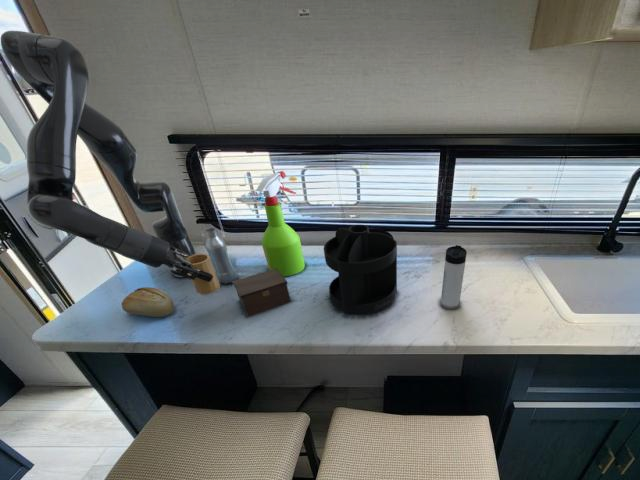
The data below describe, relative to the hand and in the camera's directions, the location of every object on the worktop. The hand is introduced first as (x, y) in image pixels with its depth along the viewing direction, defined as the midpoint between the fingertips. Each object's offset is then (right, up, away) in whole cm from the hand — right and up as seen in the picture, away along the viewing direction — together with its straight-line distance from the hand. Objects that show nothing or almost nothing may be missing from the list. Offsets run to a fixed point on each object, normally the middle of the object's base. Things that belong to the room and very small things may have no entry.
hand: (209, 273), depth 93 cm
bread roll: (-23, -12, +8) cm, 27 cm away
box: (+11, -8, +13) cm, 19 cm away
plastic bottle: (-7, -1, +23) cm, 24 cm away
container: (+44, -7, +16) cm, 47 cm away
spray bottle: (+13, +6, +33) cm, 36 cm away
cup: (-1, -4, +2) cm, 5 cm away
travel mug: (+73, -9, +13) cm, 75 cm away
